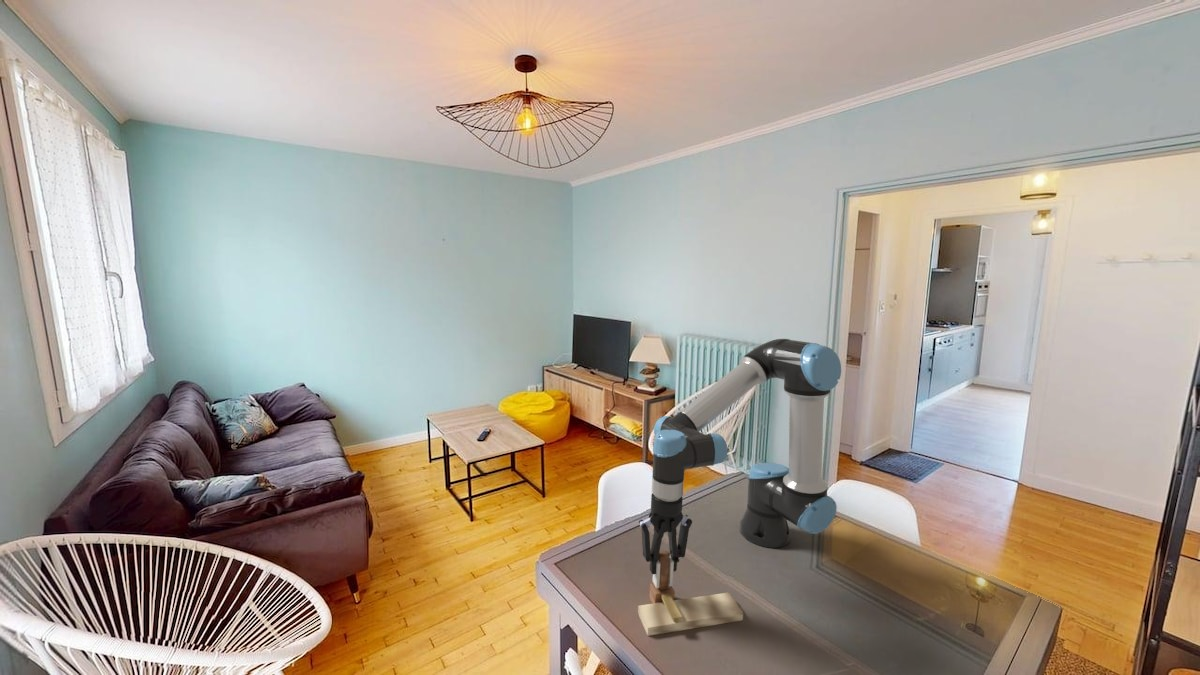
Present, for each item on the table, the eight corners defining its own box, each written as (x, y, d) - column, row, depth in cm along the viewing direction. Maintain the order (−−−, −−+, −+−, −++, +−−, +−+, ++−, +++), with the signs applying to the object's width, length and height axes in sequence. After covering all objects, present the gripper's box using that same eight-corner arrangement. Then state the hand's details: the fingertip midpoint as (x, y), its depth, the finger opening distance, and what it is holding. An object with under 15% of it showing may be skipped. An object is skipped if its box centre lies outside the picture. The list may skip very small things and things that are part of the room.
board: (727, 599, 112) (728, 592, 112) (742, 620, 106) (743, 612, 105) (637, 613, 107) (638, 605, 106) (647, 635, 100) (647, 627, 100)
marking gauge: (667, 595, 113) (670, 547, 112) (687, 631, 102) (690, 579, 100) (649, 597, 112) (651, 550, 110) (667, 634, 101) (670, 581, 99)
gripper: (690, 484, 113) (685, 570, 116) (631, 489, 109) (627, 577, 112) (704, 499, 105) (698, 589, 108) (640, 505, 102) (636, 598, 105)
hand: (662, 583), depth 110 cm, fingers closed on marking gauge, 3 cm apart
